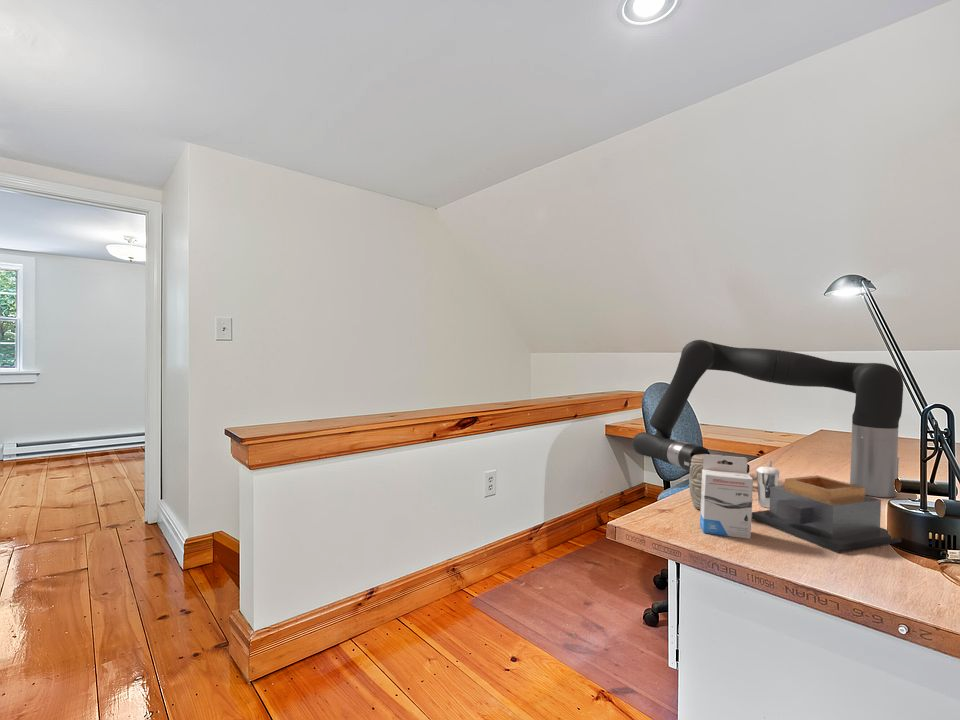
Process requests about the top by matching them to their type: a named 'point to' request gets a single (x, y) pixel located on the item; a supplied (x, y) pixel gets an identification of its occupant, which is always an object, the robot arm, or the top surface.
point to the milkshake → (766, 483)
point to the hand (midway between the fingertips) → (735, 470)
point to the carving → (696, 479)
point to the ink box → (726, 497)
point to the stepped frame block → (826, 514)
